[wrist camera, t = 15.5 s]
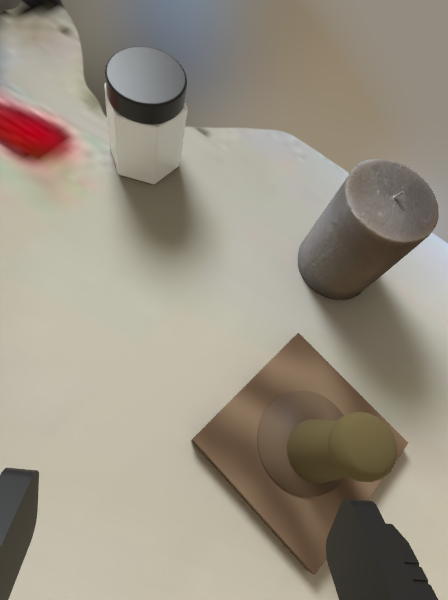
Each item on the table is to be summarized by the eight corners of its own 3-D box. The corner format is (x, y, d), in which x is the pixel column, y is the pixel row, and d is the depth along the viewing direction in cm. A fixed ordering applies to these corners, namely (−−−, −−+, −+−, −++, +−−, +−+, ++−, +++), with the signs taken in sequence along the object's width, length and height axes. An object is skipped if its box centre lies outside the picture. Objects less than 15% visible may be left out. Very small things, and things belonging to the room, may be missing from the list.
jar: (186, 142, 54) (199, 60, 44) (171, 191, 51) (181, 116, 40) (119, 122, 54) (114, 34, 43) (99, 171, 50) (89, 88, 39)
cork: (356, 453, 42) (425, 449, 32) (317, 498, 39) (378, 509, 29) (315, 406, 43) (369, 387, 33) (274, 447, 40) (319, 440, 30)
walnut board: (308, 571, 38) (315, 575, 37) (191, 440, 41) (193, 439, 39) (400, 444, 45) (409, 443, 43) (293, 336, 47) (299, 332, 45)
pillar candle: (383, 276, 52) (469, 207, 39) (329, 314, 49) (403, 253, 35) (334, 219, 55) (399, 134, 41) (279, 252, 51) (330, 171, 37)
